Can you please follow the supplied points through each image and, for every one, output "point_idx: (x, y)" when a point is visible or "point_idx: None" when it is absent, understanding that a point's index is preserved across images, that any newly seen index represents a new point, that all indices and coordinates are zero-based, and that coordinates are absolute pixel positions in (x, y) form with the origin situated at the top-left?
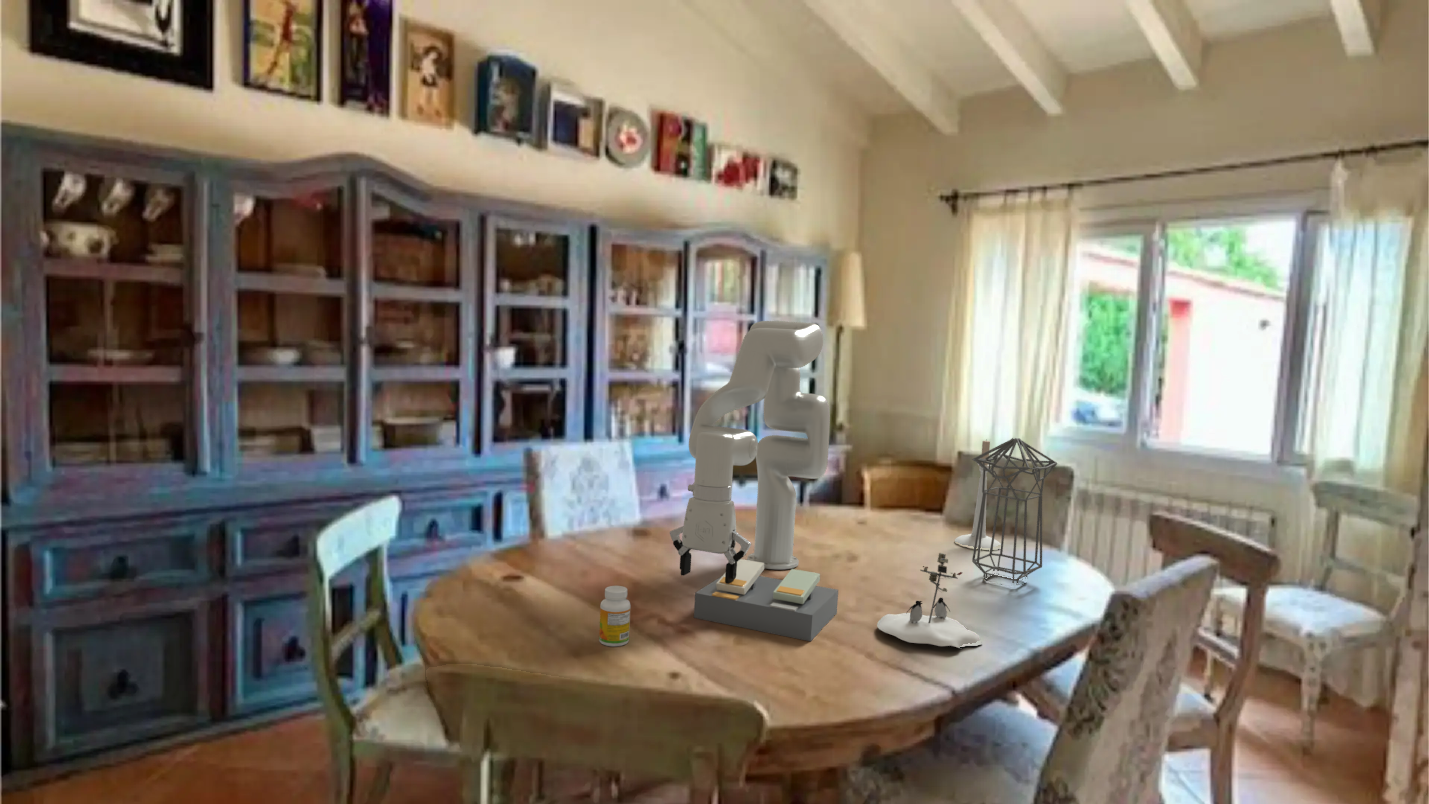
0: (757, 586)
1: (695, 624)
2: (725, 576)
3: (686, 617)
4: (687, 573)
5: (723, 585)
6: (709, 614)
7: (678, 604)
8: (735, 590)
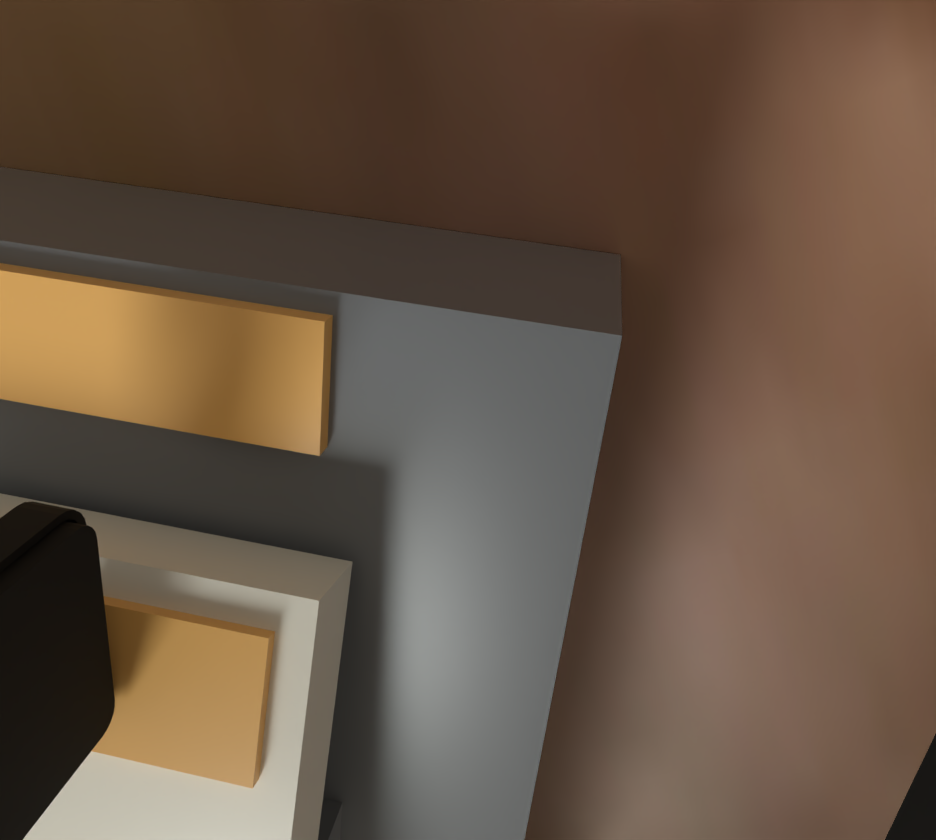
0: None
1: (543, 42)
2: (8, 582)
3: (706, 233)
4: (905, 803)
5: (206, 571)
6: (418, 238)
7: (883, 586)
8: None
